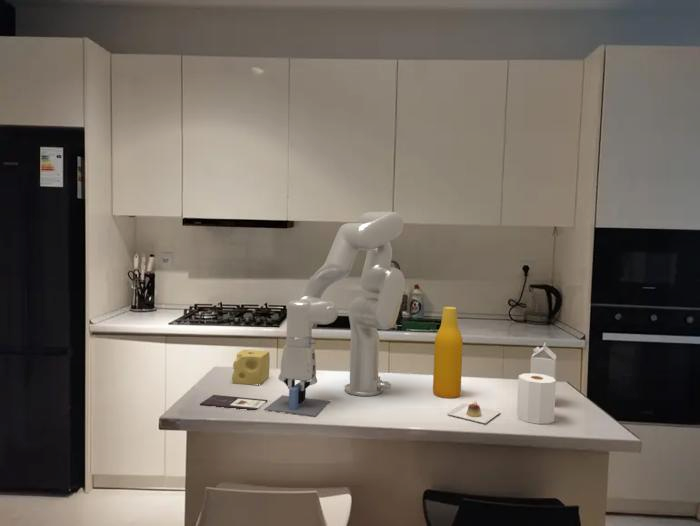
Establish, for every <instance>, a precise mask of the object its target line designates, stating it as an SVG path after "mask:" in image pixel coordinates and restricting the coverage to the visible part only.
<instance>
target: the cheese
mask: <svg viewBox="0 0 700 526" xmlns="http://www.w3.org/2000/svg"><path fill="white" fill-rule="evenodd" d="M270 358H271V356H270V351H269V350H268V351H267V350H253V349H242V350H240V351H239V352H237V354H236V359H235V360H234V361H233V365H232V368H233V372H232V375H231V381H232V384H234V383H237V385H250V384H258V385H257V386H260V385H259V384H261V383H262V384H263V383H264V382H265V381H267V380H268V379H269V377H270V365H271V364H270V363H271V361H270V360H271V359H270ZM262 384H261V385H262Z"/></svg>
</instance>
